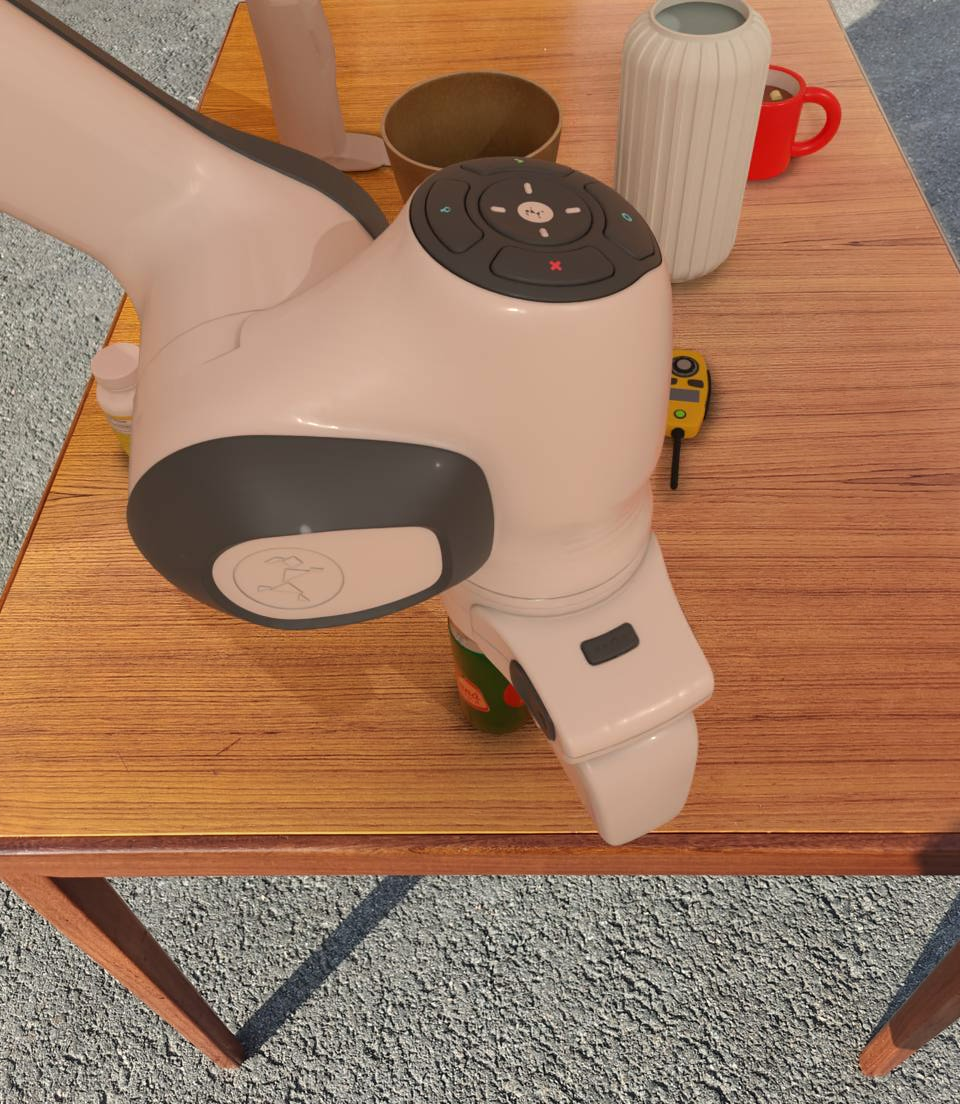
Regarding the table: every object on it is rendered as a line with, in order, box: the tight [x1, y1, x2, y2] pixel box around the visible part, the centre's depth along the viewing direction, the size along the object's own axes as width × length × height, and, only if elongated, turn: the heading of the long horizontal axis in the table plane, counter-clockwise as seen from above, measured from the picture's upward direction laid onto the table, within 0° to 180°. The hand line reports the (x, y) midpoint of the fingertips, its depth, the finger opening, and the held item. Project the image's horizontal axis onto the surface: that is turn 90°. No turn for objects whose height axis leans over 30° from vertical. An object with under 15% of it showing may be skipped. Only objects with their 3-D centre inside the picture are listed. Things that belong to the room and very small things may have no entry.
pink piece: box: [244, 0, 391, 172], centre depth 94 cm, size 7×14×20 cm, turn 81°
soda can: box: [446, 615, 532, 736], centre depth 57 cm, size 5×5×12 cm
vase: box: [612, 0, 773, 284], centre depth 79 cm, size 12×12×22 cm
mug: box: [747, 64, 843, 181], centre depth 94 cm, size 8×12×8 cm, turn 86°
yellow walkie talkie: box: [665, 349, 712, 491], centre depth 75 cm, size 5×2×15 cm
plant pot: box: [380, 69, 564, 205], centre depth 82 cm, size 15×15×16 cm
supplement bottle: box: [89, 342, 139, 458], centre depth 74 cm, size 5×5×10 cm
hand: (540, 701), depth 50 cm, fingers closed
